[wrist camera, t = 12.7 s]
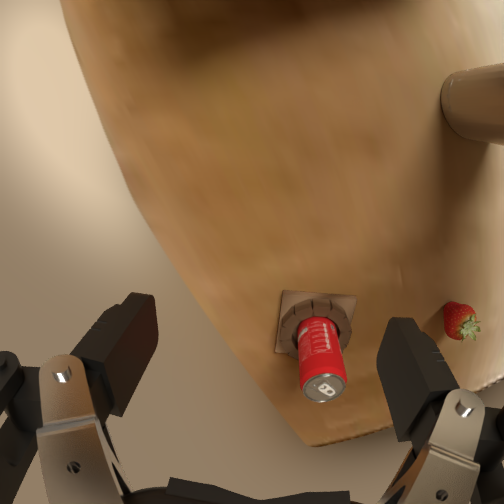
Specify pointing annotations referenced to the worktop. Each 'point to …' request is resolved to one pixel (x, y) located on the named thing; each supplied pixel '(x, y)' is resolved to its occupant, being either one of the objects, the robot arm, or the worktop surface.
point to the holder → (309, 305)
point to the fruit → (459, 321)
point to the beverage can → (320, 360)
